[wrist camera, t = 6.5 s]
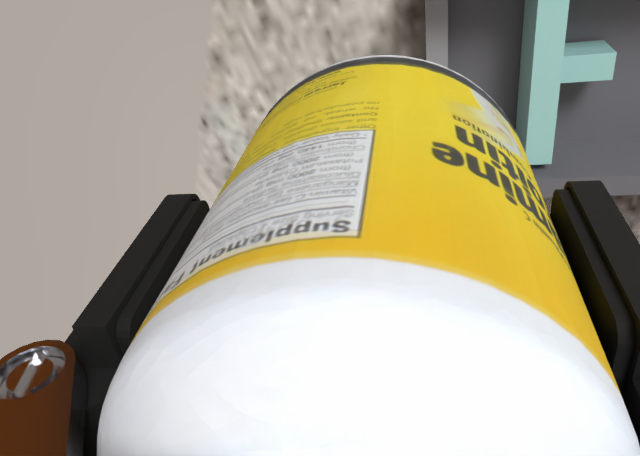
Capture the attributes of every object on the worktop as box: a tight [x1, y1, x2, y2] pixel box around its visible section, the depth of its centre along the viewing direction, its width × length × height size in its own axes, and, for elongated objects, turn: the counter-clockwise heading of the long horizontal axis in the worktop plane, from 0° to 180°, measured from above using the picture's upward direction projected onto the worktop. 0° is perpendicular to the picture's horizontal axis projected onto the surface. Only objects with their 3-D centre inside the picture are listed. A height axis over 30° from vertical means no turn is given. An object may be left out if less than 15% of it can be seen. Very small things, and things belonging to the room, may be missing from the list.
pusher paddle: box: [516, 0, 617, 165], centre depth 25 cm, size 4×8×3 cm, turn 7°
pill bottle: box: [97, 55, 640, 456], centre depth 9 cm, size 6×6×12 cm
